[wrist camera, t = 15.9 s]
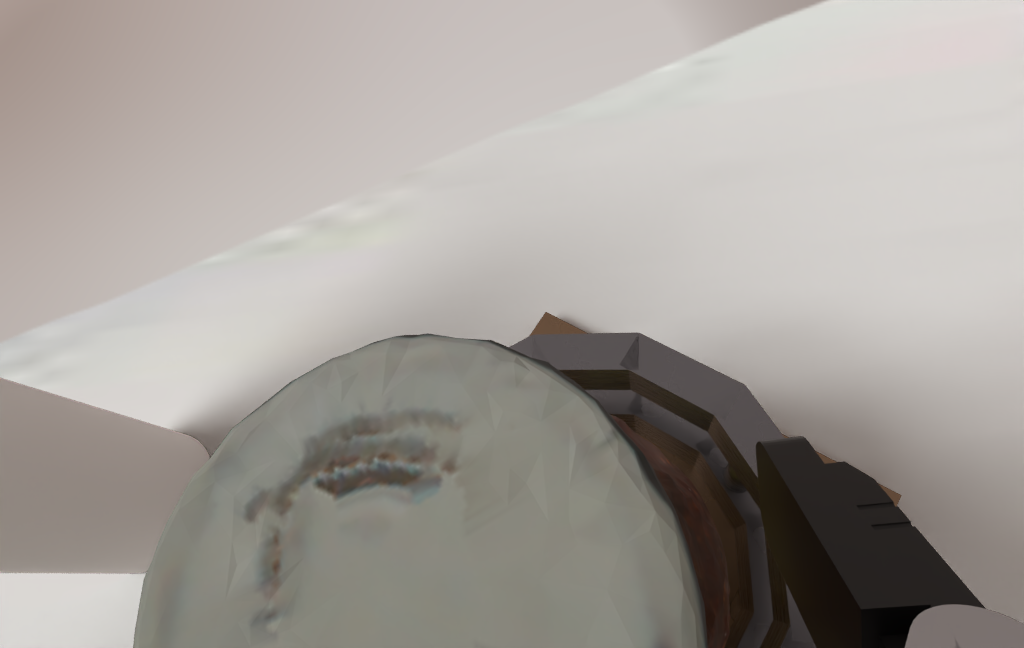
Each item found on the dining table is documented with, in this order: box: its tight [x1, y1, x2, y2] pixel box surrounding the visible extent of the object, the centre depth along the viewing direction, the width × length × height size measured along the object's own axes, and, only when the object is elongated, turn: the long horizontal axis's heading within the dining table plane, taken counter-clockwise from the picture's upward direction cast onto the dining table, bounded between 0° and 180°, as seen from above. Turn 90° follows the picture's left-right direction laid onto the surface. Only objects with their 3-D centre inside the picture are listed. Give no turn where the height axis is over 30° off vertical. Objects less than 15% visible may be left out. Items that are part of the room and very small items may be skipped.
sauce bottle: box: [133, 334, 730, 648], centre depth 12 cm, size 6×6×20 cm
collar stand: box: [509, 312, 901, 648], centre depth 18 cm, size 16×16×9 cm
